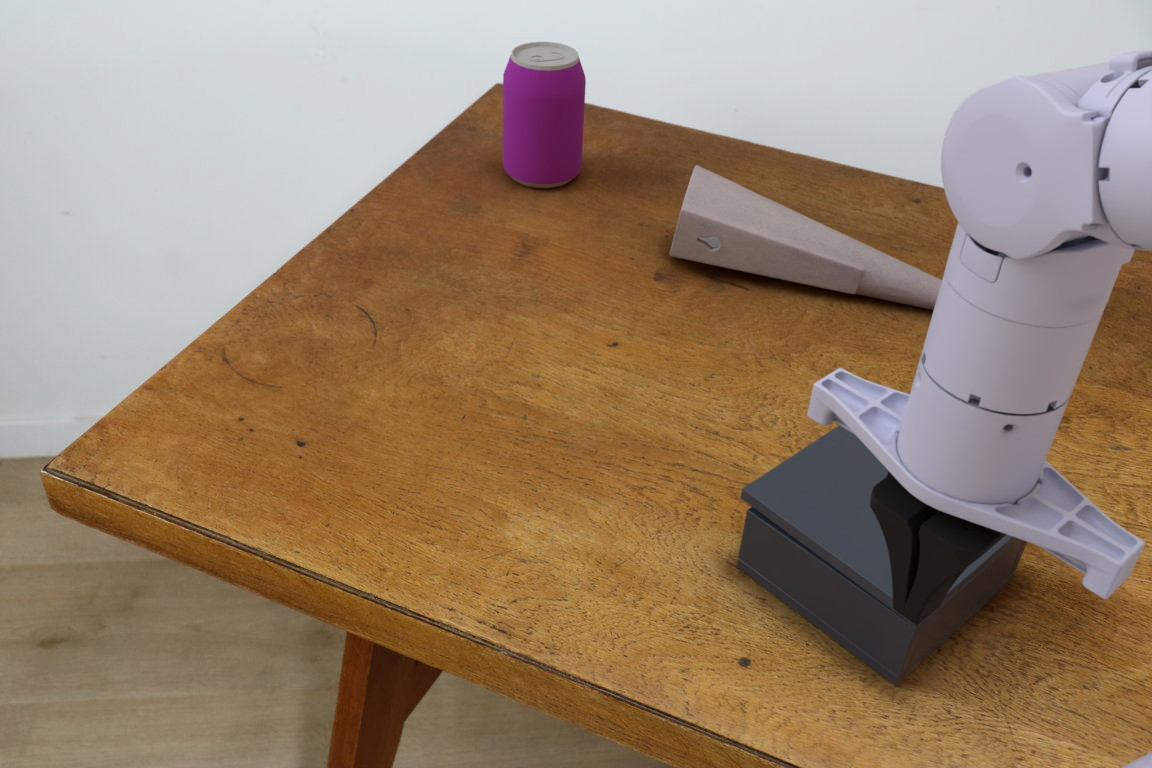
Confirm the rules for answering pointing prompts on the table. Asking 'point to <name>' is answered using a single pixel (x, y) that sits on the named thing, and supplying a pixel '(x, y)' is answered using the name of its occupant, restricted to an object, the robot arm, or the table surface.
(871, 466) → the lid
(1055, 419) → the robot arm
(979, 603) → the box
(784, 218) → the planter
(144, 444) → the table surface
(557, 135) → the beverage can
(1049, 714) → the table surface
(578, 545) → the table surface
